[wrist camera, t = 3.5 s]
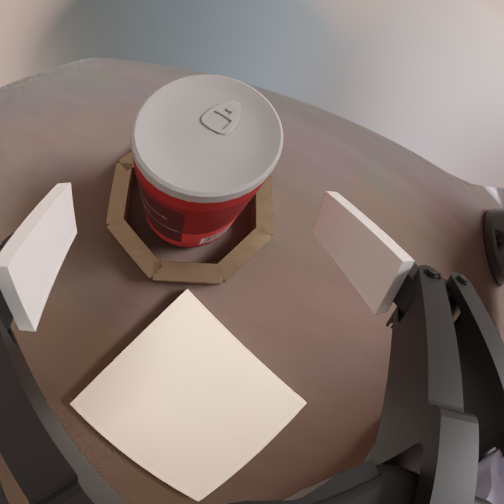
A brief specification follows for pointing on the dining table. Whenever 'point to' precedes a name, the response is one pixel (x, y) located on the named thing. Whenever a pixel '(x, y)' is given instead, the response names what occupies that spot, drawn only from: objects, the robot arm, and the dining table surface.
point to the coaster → (188, 400)
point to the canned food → (202, 155)
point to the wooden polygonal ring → (185, 270)
